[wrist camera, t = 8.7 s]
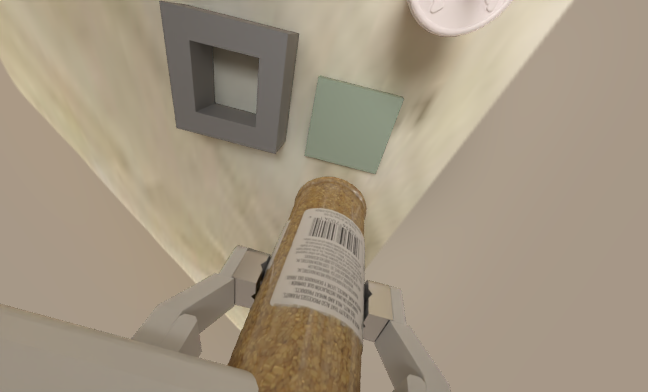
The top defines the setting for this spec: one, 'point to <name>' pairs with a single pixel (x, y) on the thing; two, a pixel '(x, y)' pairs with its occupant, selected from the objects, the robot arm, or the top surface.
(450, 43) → the top surface
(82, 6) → the top surface
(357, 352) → the sprinkles bottle
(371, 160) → the rubber mat
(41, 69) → the top surface
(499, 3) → the smoothie
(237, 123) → the socket block
